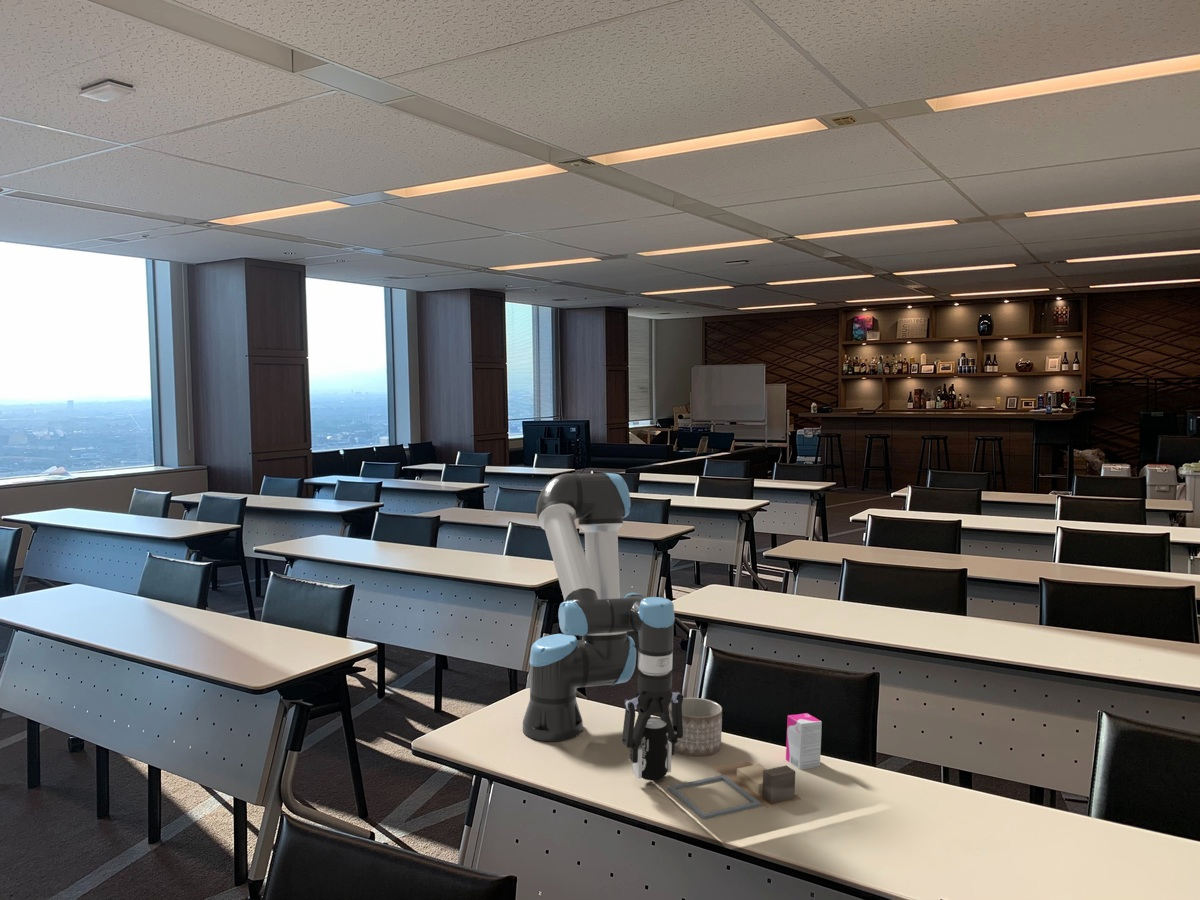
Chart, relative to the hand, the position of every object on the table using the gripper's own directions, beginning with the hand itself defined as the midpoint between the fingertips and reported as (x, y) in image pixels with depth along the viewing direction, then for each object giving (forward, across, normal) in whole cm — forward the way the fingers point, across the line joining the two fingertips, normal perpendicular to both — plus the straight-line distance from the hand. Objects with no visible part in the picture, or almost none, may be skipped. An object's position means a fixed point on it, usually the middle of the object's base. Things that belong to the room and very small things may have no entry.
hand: (651, 772), depth 183 cm
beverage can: (+1, 0, 0) cm, 1 cm away
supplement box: (+2, +36, -7) cm, 37 cm away
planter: (+3, +18, +11) cm, 21 cm away
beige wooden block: (+1, +20, -12) cm, 23 cm away
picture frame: (+2, +8, -13) cm, 15 cm away
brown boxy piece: (+2, +20, -11) cm, 23 cm away
